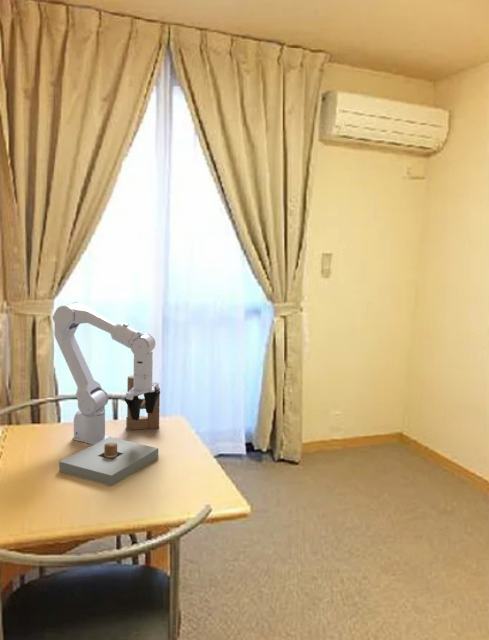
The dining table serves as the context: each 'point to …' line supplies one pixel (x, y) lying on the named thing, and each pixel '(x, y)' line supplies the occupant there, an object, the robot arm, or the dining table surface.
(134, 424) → the wooden block
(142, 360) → the robot arm
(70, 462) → the board
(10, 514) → the dining table surface
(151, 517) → the dining table surface
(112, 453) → the peg
